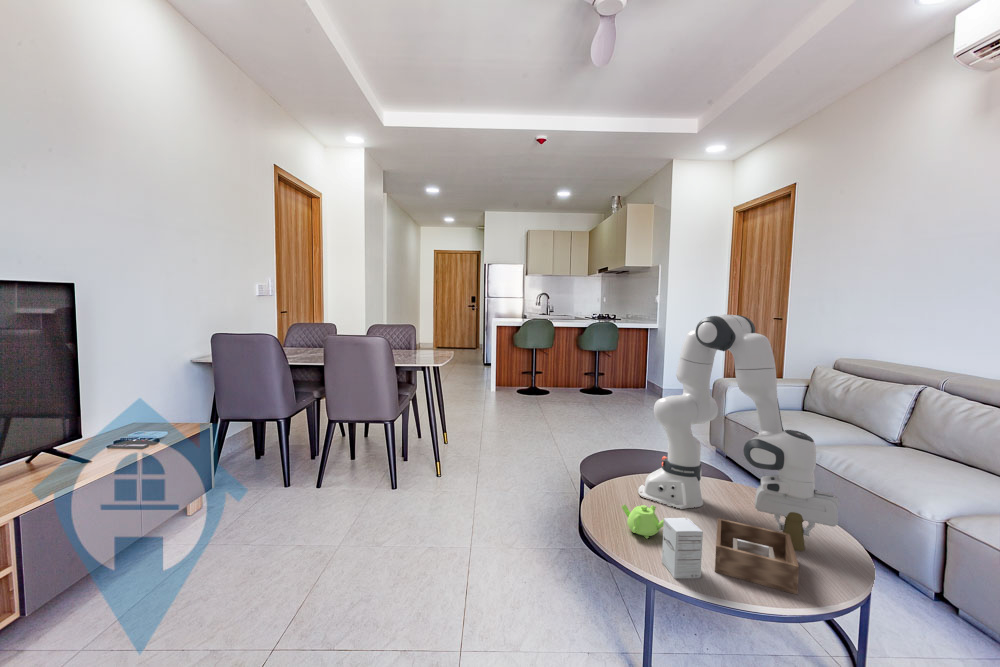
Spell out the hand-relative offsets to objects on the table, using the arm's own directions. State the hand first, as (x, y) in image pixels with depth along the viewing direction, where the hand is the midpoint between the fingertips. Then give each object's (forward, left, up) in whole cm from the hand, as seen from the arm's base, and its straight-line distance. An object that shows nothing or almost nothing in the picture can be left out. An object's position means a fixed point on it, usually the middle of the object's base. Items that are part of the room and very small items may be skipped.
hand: (793, 532), depth 125 cm
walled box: (-11, -18, -4) cm, 21 cm away
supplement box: (-28, -31, -4) cm, 42 cm away
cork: (0, 0, -4) cm, 4 cm away
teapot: (-40, -15, -4) cm, 43 cm away
